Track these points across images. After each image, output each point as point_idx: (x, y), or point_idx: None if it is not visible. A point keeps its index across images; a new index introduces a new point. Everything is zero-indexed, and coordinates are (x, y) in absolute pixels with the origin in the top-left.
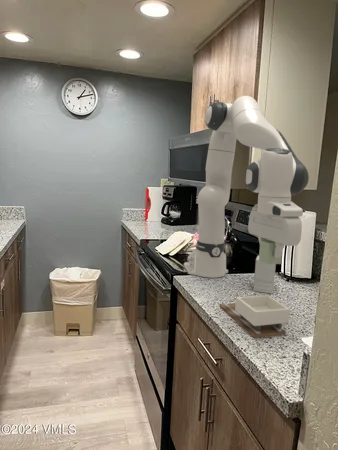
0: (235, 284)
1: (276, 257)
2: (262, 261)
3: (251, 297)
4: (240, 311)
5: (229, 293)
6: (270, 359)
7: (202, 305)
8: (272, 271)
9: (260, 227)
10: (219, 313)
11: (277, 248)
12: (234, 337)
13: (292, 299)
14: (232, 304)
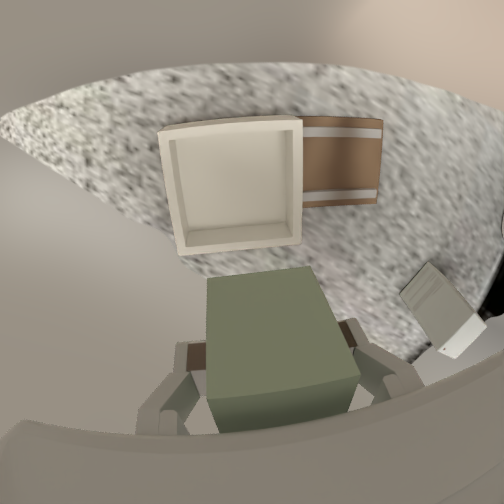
0: (467, 237)
1: (178, 346)
2: (270, 273)
3: (293, 178)
4: (255, 117)
5: (439, 195)
6: (79, 127)
7: (396, 77)
8: (428, 328)
9: (424, 472)
10: (339, 95)
11: (149, 396)
12: (184, 72)
13: (359, 320)
14: (374, 157)
